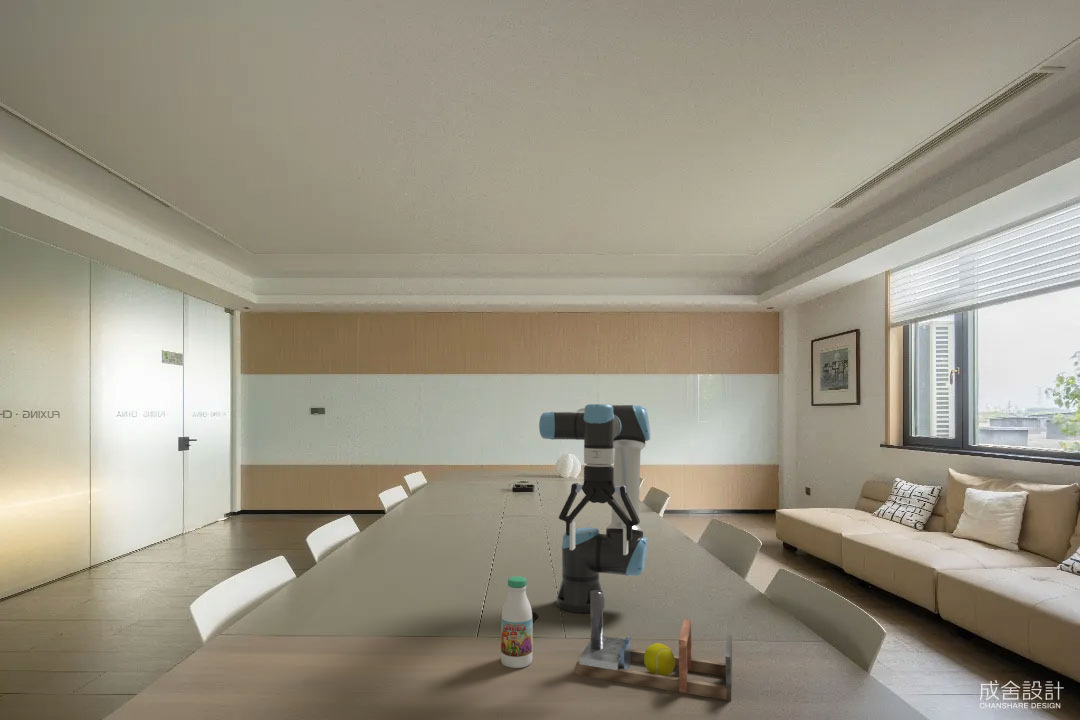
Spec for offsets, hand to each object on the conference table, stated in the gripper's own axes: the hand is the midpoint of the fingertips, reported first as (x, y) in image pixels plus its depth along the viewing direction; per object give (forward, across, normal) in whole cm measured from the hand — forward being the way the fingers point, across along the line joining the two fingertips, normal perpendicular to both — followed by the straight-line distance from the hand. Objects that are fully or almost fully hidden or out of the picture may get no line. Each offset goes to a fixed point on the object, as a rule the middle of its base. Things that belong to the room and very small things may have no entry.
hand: (598, 551), depth 142 cm
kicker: (+27, +2, -1) cm, 27 cm away
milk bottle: (+27, -19, -6) cm, 34 cm away
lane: (+27, +14, -1) cm, 30 cm away
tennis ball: (+27, +15, -1) cm, 31 cm away
